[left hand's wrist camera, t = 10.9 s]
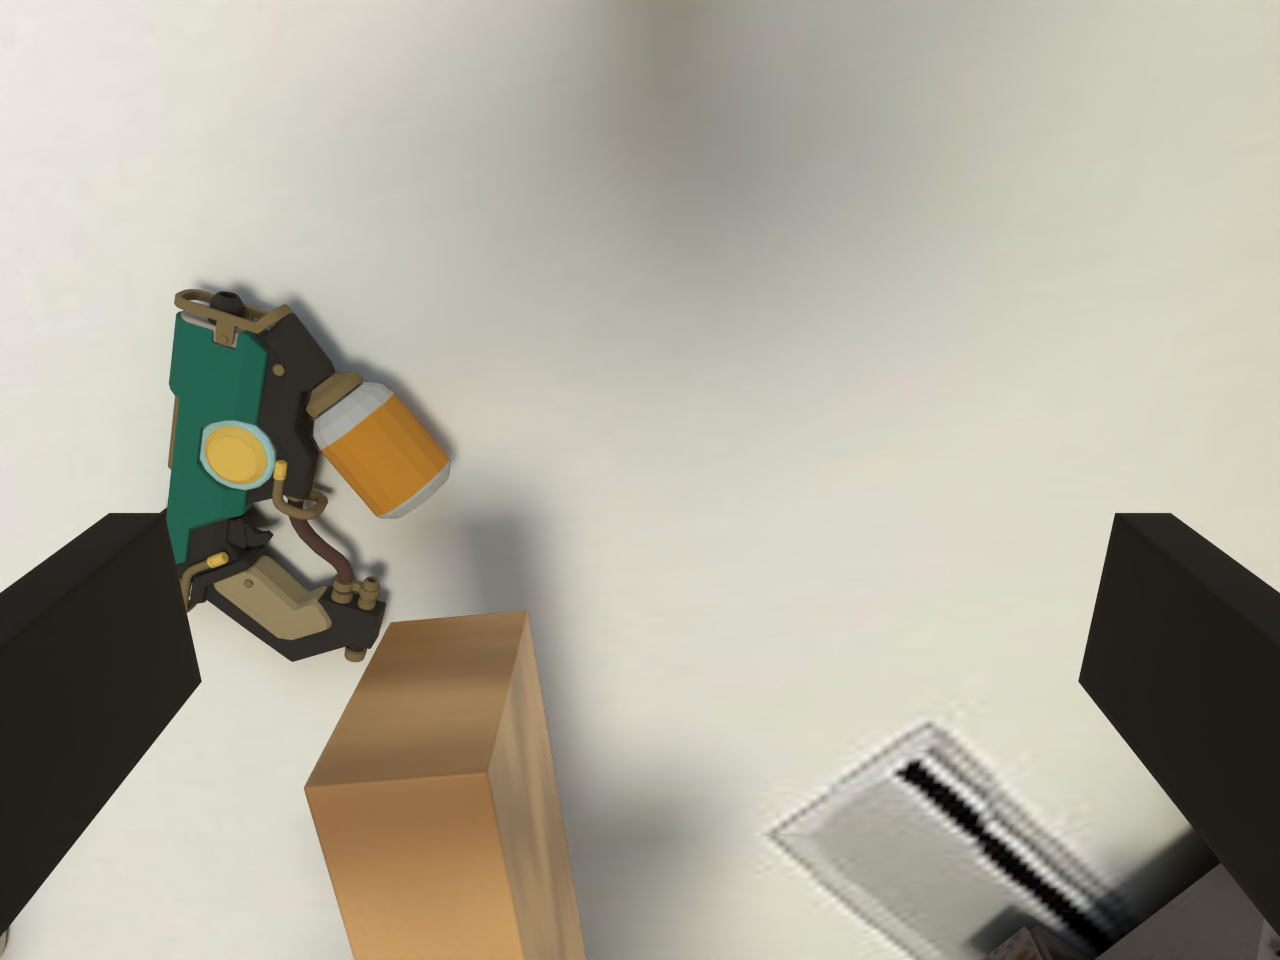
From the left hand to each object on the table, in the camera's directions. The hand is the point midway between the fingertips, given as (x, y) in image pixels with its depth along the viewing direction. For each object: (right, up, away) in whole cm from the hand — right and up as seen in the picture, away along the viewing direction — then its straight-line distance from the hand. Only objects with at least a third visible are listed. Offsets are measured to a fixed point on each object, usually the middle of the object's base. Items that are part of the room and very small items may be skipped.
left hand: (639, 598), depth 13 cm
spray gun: (-17, +2, +31) cm, 35 cm away
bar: (-6, -15, +25) cm, 29 cm away
